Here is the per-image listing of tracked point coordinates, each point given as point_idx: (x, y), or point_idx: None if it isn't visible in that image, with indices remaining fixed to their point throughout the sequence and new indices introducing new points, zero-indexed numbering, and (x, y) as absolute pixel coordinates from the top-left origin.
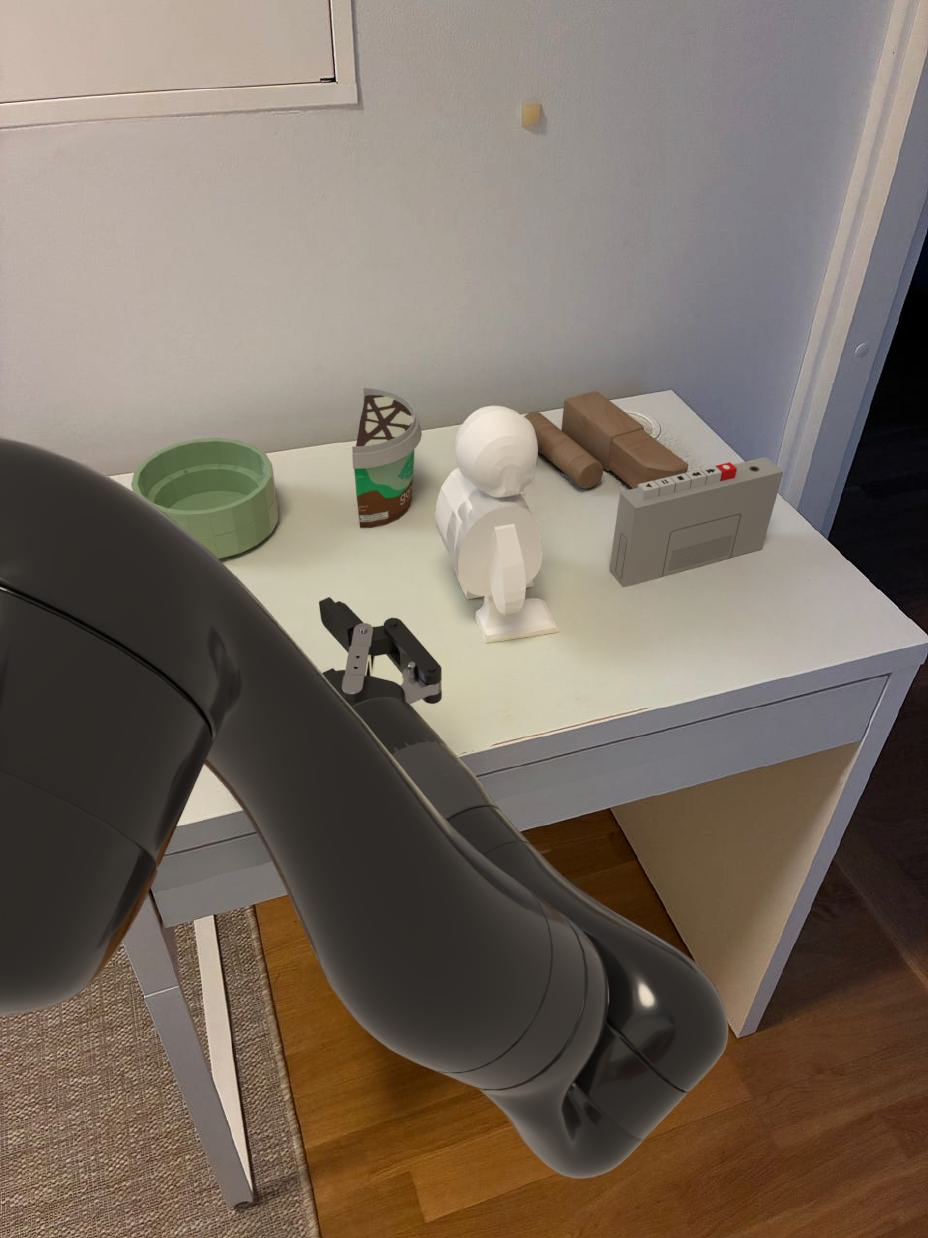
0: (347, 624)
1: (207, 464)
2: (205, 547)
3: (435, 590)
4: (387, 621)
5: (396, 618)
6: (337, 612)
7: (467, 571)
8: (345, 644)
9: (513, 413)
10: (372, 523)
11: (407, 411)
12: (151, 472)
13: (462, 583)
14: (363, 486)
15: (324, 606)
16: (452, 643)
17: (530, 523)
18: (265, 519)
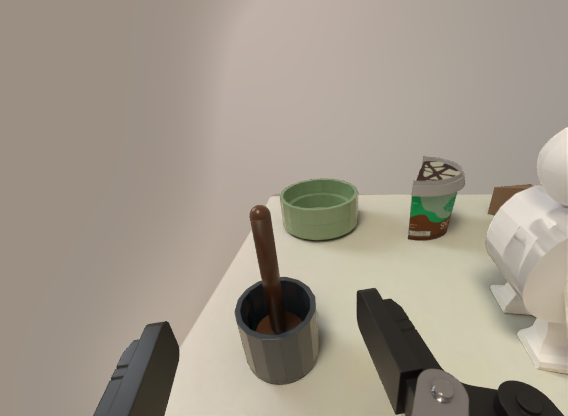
0: (402, 358)
1: (325, 192)
2: (266, 208)
3: (470, 296)
4: (507, 388)
5: (533, 388)
6: (384, 321)
7: (535, 291)
8: (390, 390)
9: None
10: (417, 237)
11: (454, 169)
12: (295, 191)
13: (524, 302)
14: (416, 210)
15: (363, 302)
16: (494, 355)
17: None
18: (347, 222)
